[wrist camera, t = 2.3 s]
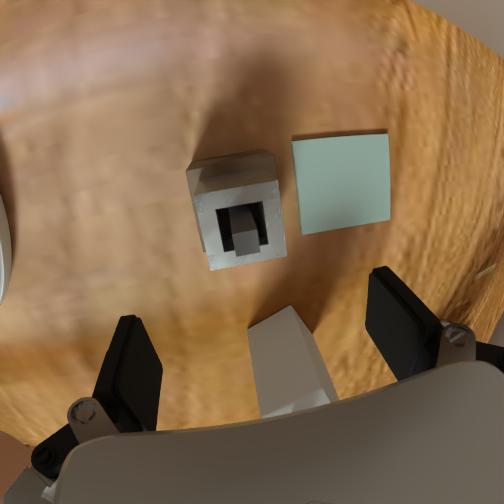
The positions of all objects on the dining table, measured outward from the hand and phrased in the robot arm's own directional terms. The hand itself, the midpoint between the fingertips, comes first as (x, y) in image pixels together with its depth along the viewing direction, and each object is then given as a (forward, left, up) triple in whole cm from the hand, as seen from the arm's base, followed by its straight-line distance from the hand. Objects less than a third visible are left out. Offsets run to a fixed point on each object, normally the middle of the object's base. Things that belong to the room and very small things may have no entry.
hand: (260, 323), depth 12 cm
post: (0, 0, -23) cm, 23 cm away
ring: (0, 0, -17) cm, 17 cm away
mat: (-13, +1, -23) cm, 27 cm away
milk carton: (-3, +21, -24) cm, 32 cm away
